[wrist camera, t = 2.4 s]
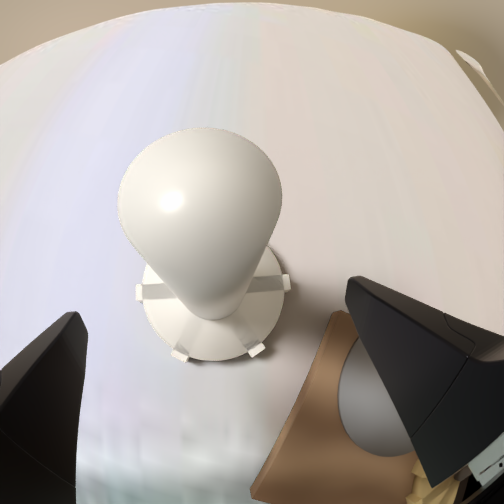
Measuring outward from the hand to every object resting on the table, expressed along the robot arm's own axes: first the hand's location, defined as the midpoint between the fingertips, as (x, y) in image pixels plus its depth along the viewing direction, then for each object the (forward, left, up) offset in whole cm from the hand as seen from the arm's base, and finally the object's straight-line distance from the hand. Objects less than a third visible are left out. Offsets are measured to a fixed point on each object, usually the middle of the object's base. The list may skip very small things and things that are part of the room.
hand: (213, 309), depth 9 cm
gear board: (-2, -18, -10) cm, 20 cm away
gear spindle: (+2, +1, -10) cm, 10 cm away
